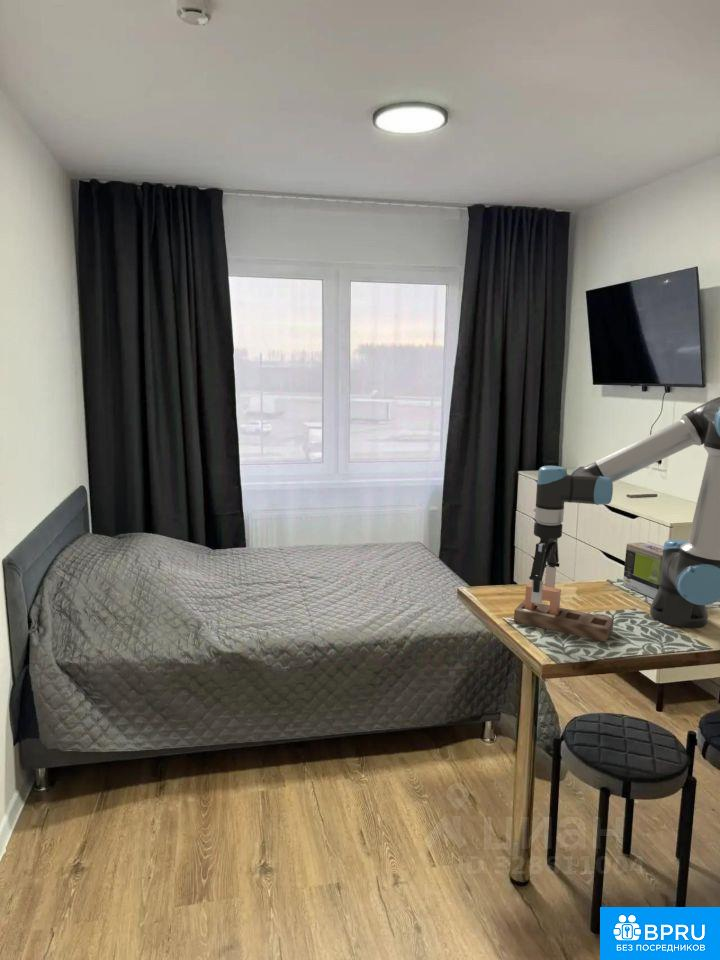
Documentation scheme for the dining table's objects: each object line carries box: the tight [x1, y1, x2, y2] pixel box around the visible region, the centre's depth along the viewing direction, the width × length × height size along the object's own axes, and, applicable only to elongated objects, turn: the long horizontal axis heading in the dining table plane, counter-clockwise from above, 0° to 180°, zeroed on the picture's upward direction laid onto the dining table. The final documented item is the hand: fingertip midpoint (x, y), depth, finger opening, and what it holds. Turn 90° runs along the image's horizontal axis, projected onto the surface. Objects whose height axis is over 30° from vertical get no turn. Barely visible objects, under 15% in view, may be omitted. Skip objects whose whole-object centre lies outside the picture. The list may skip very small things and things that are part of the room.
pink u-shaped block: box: [524, 582, 562, 616], centre depth 187 cm, size 9×3×10 cm, turn 59°
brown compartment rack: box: [513, 599, 615, 643], centre depth 184 cm, size 25×9×4 cm, turn 59°
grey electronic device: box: [622, 541, 664, 599], centre depth 213 cm, size 15×10×15 cm
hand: (543, 595), depth 186 cm, fingers open, 13 cm apart
